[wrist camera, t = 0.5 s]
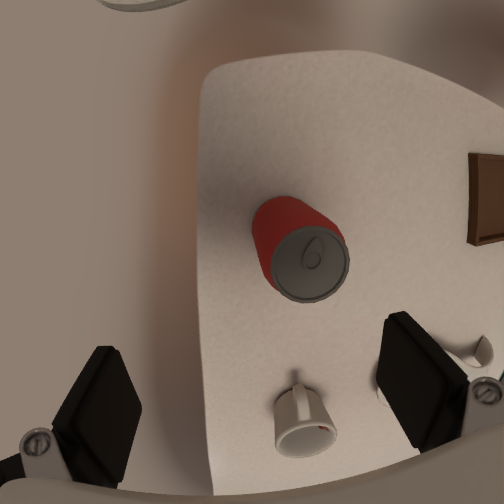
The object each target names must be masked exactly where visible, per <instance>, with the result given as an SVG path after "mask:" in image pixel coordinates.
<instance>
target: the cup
mask: <svg viewBox="0 0 504 504" xmlns="http://www.w3.org/2000/svg"><path fill="white" fill-rule="evenodd" d="M274 422H275V447H276V450H277V451H278V452H279V453H280V454H281V455H283V456H286V457H290V458H305V457H310V456H313V455H316V454H319V453H321V452H323V451H325V450H326V449H328V448H329V447H330V446H331V445H332V444H333V443H334V441H335V440H336V437H337V430H336V428H335V426H334V424H333V422H332V420H331V418H330V416H329V414H328V412H327V410H326V408H325V406H324V405H323V403H322V401H321V399H320V397H319V396H318V395H317V394H316V393H315V392H313V391H311V390H308V389H305V388H304V386H303V385H302V384H296V385H294V386H293V390H291V391H289V392H287V393H285V394H283V395H282V396H281V397H280V398H279V399H278V401H277V402H276V405H275V410H274Z"/></svg>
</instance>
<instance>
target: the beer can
mask: <svg viewBox="0 0 504 504" xmlns="http://www.w3.org/2000/svg"><path fill="white" fill-rule="evenodd" d="M252 234H253V238H254V242H255V246H256V250H257V254H258V257H259V261H260V265H261V268H262V271H263V274H264V276H265V278H266V279H267V280H268V282H269V283H270V284H271V286H272V287H273V288H274V289H276V290H277V291H279V292H280V293H281V294H282V295H283V296H285V297H286V298H288V299H290V300H291V301H295V302H299V303H315V302H318V301H321V300H324V299H326V298H328V297H329V296H331V295H332V294H334V293H335V292H336V291H337V290H338V289H339V287H340V286H341V285H342V284H343V283H344V281H345V278H346V276H347V274H348V271H349V263H350V258H349V253H348V248H347V246H346V244H345V240H344V237H343V235H342V234H341V232H340V230H339V229H338V227H337V226H336V225H335V224H334V223H333V222H332V221H330V220H329V219H328V218H327V217H325V216H324V215H322V214H321V213H319V212H318V211H316V210H315V209H313V208H312V207H310V206H308V205H307V204H305V203H304V202H302V201H301V200H299V199H296V198H293V197H286V196H280V197H277V198H273V199H270V200H269V201H267V202H266V203H264V204H263V205H262V206H261V207H260V208H259V210H258V211H257V212H256V214H255V217H254V220H253V223H252Z"/></svg>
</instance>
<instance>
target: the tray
mask: <svg viewBox="0 0 504 504" xmlns="http://www.w3.org/2000/svg"><path fill="white" fill-rule="evenodd" d="M468 157H469V221H468V237H467V243H469V244H472V245H474V246H480V245H485V244H490V243H495V242H499V241H504V156H501V155H489V154H475V153H468Z"/></svg>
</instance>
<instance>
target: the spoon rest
mask: <svg viewBox="0 0 504 504" xmlns="http://www.w3.org/2000/svg"><path fill="white" fill-rule="evenodd" d="M443 350H444V351H445V352H446V353H447V354H448V355H449V356H450V357H451V358H452V359H453V360H454V361H455V362H456V363H457V364H458V365H459V367H460V368H461V369H462V370H463V371H464V372H465V373H466V374H467V375H468V378H467V379H468V380H469V381H470V382H472V381H473V380H475V379H476V378H479V377H485V376H486V374H487V371H488V368H489V366H490V365H491V363H492V361H493V357H494V353H493V348H492V345H491V343H490V342H489V341H488V339H487V338H486V337H483V338H482V339H481V341H480V343H479V345H478V348H477V351H476V353H475V359H476V360H477V361H478V362H479V363H480V364H481V365H482V366H481V367H474V366H471V365H469V364H467V363H465V362H464V361H463V360H461V359H460V358H458V357H457V356H455V355H454V354H452V353H451V352H449V351H447V350H445V349H443ZM377 397H378V400H379V402H380V403H381V404H383V405H384V406H386V407H390V405H389V404H388V402H387V400H386V398H385V397H384V395H383V393H382V392H381V390H380V388H379V386H378V387H377ZM390 408H391V407H390Z"/></svg>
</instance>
